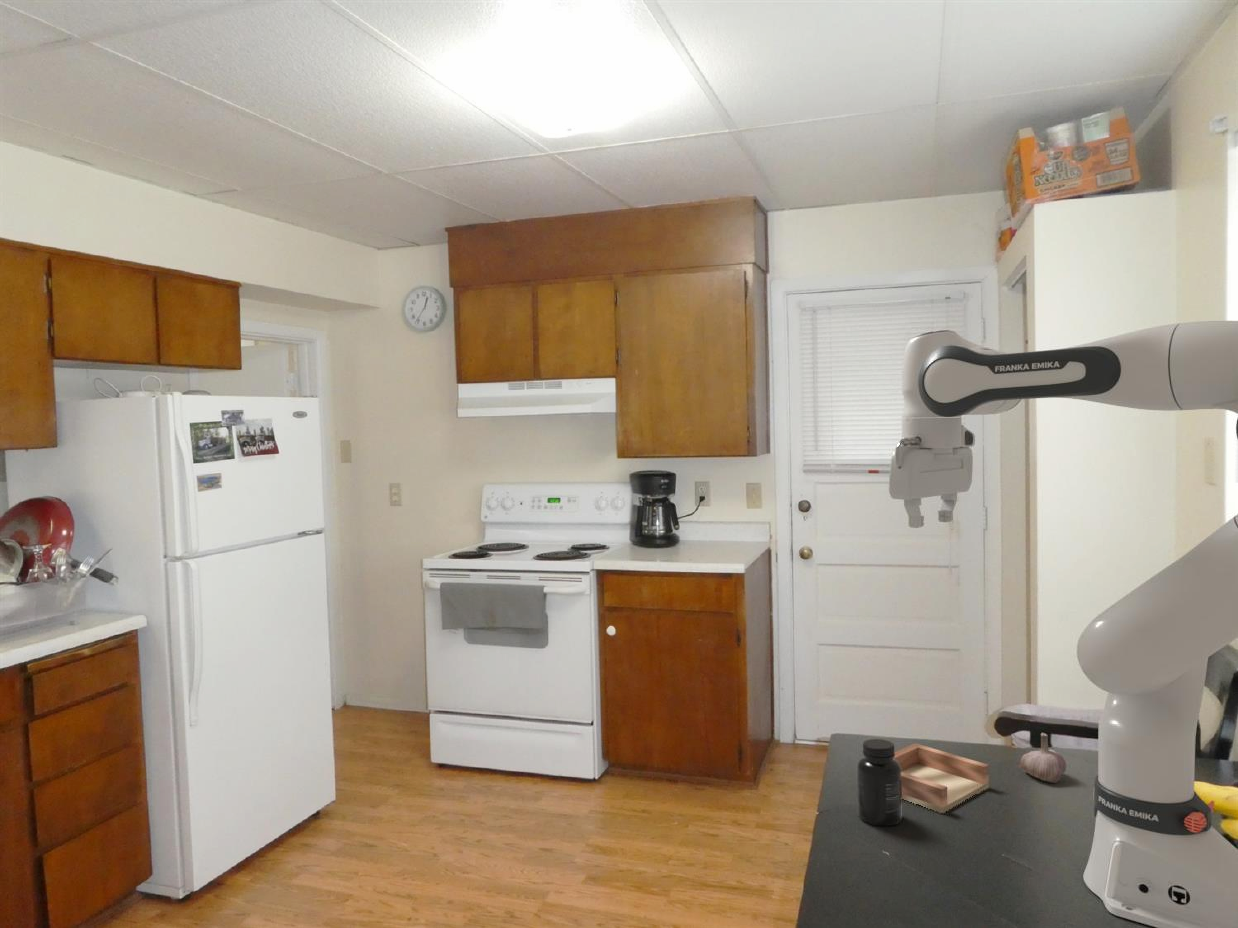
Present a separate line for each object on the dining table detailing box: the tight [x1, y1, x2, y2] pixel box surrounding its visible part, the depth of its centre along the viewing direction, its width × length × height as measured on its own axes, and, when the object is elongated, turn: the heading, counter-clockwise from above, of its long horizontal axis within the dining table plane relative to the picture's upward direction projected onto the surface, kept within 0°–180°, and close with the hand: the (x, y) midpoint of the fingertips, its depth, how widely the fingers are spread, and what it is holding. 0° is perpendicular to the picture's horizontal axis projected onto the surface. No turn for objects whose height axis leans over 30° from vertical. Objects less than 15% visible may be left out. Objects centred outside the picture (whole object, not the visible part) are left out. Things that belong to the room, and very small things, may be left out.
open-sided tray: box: [894, 742, 990, 814], centre depth 153 cm, size 14×15×4 cm
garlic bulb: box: [1019, 732, 1067, 784], centre depth 157 cm, size 8×7×8 cm
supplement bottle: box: [856, 738, 903, 827], centre depth 142 cm, size 7×7×12 cm
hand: (931, 524), depth 141 cm, fingers open, 8 cm apart
